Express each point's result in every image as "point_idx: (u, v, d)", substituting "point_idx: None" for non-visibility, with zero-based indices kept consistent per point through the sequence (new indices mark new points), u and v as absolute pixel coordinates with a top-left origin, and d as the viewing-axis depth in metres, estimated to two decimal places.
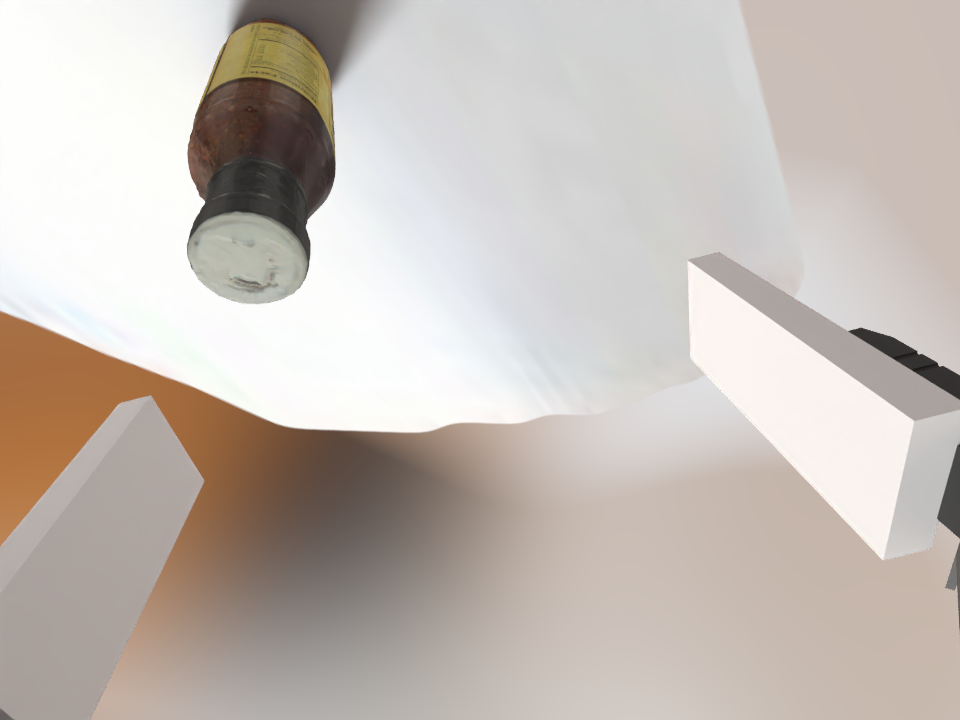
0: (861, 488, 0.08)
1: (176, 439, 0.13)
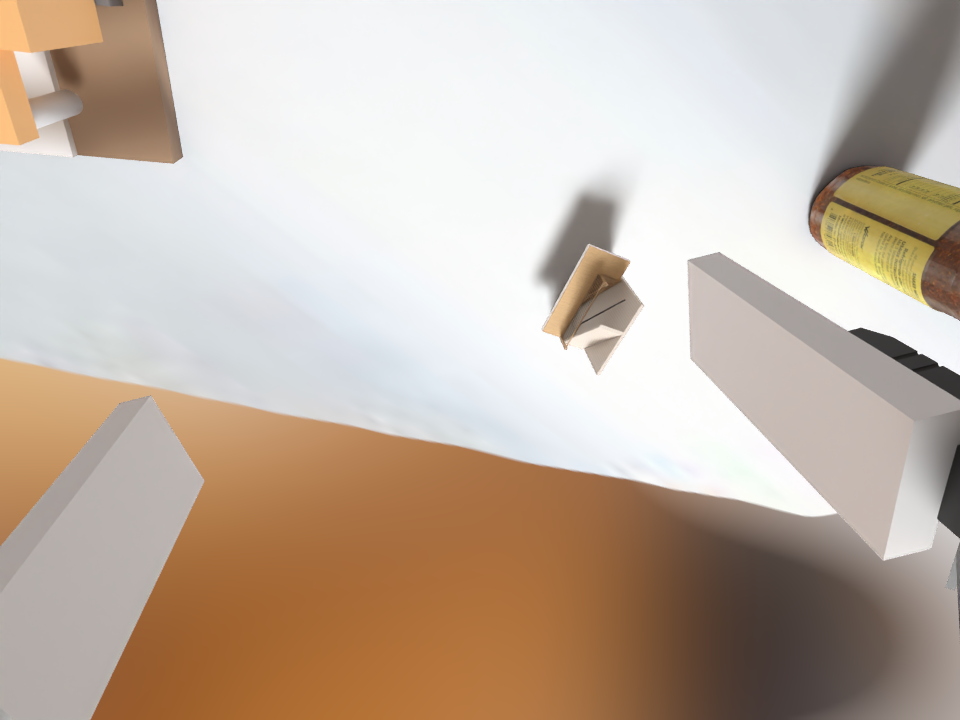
0: (861, 488, 0.08)
1: (176, 439, 0.13)
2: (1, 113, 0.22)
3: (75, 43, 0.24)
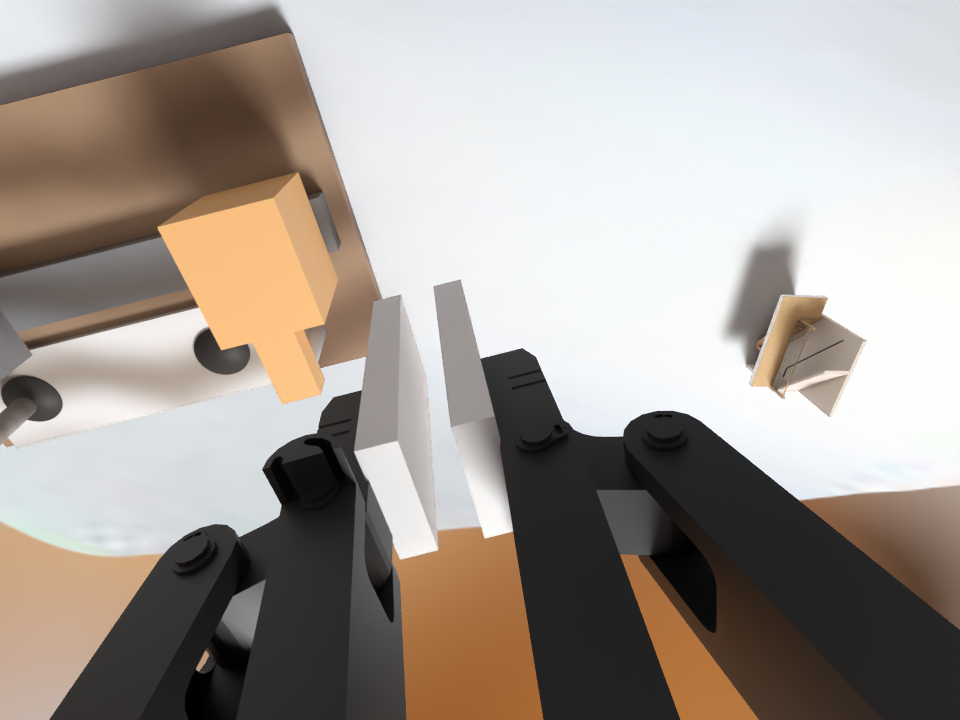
0: None
1: (412, 337, 0.15)
2: (306, 375, 0.27)
3: (332, 294, 0.29)
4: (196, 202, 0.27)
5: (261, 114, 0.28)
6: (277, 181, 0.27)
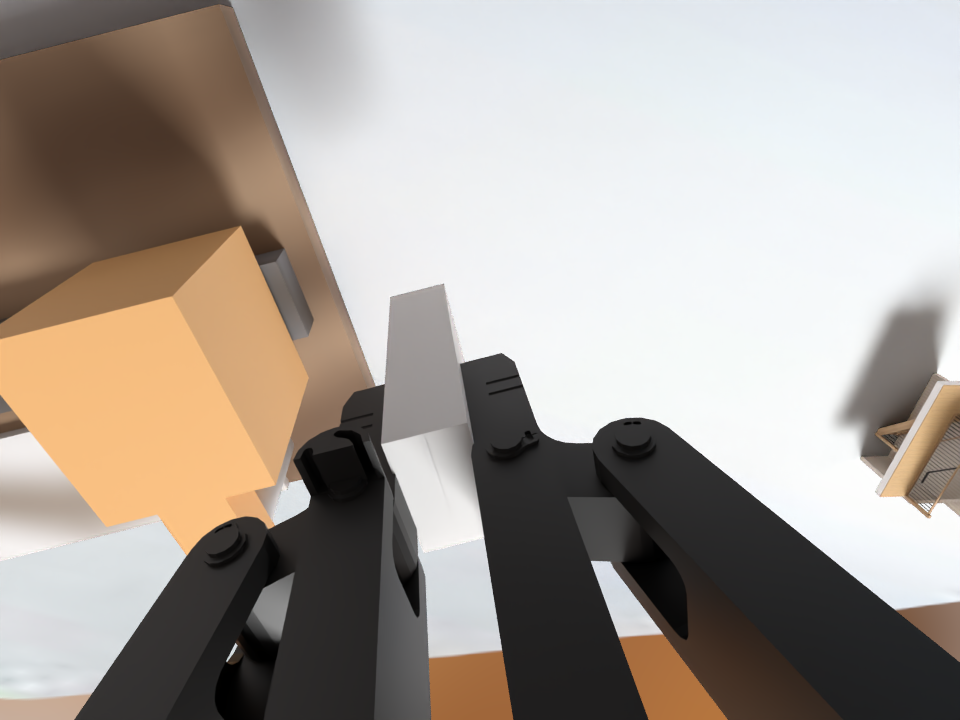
0: None
1: None
2: None
3: (295, 413, 0.19)
4: (71, 280, 0.16)
5: (184, 135, 0.18)
6: (202, 245, 0.16)
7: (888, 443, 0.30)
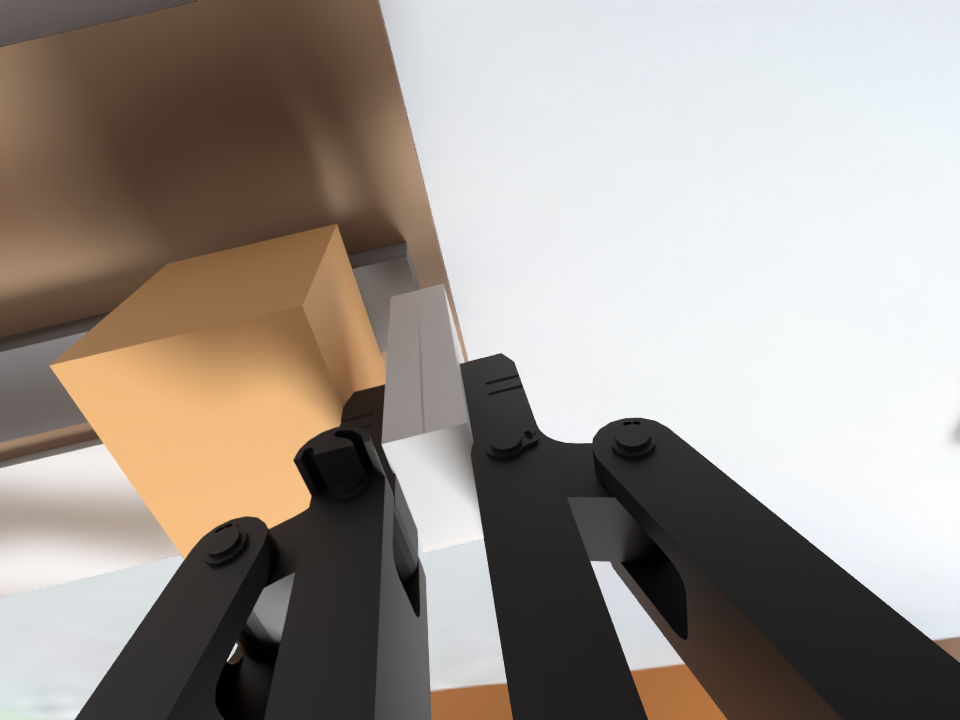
0: None
1: None
2: None
3: None
4: (150, 283, 0.14)
5: (312, 112, 0.16)
6: (302, 246, 0.14)
7: None
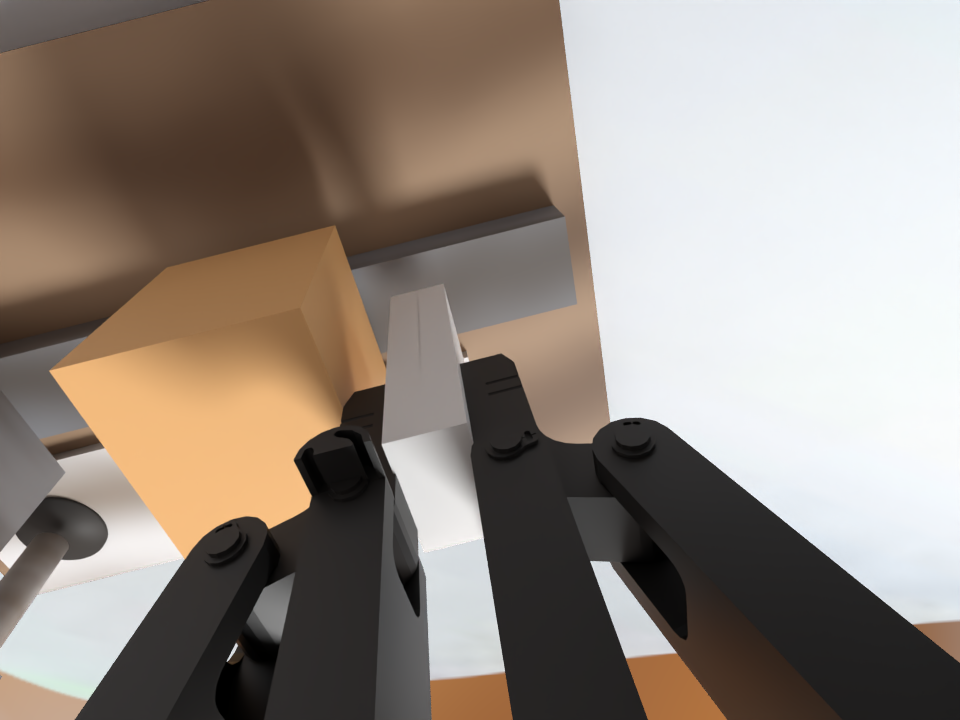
0: None
1: None
2: None
3: None
4: (150, 287, 0.14)
5: (477, 71, 0.16)
6: (300, 248, 0.14)
7: None
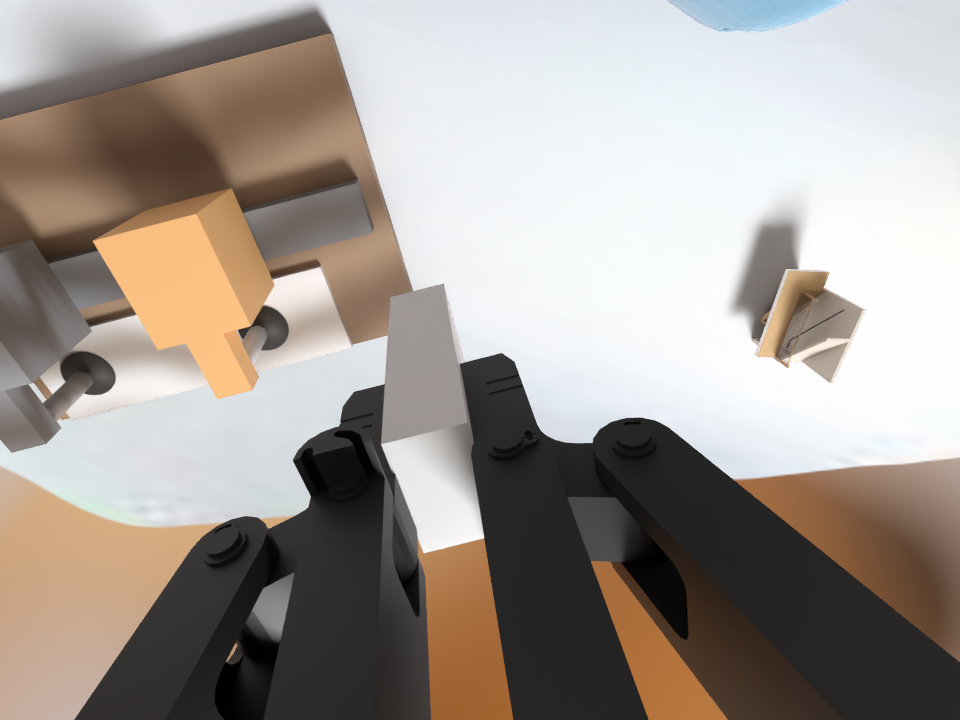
0: None
1: None
2: (237, 372, 0.30)
3: (264, 299, 0.31)
4: (136, 216, 0.29)
5: (304, 108, 0.31)
6: (209, 197, 0.29)
7: None
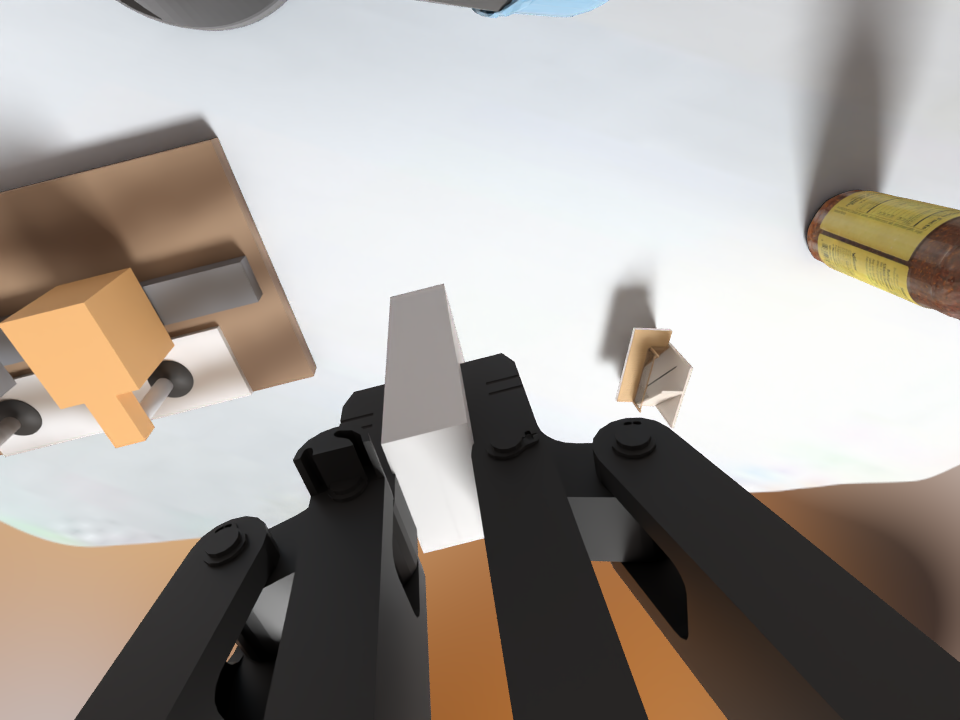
0: None
1: None
2: (131, 426, 0.35)
3: (160, 361, 0.37)
4: (45, 294, 0.35)
5: (193, 199, 0.36)
6: (107, 278, 0.35)
7: None
